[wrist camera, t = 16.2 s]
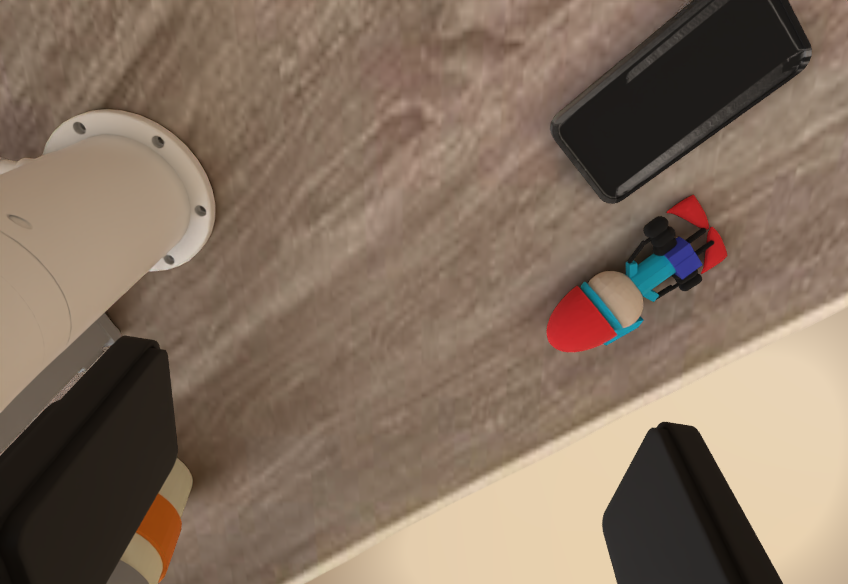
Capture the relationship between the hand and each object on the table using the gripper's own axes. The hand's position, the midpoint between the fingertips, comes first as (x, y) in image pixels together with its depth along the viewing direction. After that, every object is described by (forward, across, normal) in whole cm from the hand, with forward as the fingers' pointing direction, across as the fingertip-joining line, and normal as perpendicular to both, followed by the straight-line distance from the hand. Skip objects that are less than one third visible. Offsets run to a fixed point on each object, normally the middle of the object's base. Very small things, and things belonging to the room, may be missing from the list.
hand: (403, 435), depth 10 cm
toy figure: (+31, -17, +10) cm, 36 cm away
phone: (+30, -15, -4) cm, 34 cm away
